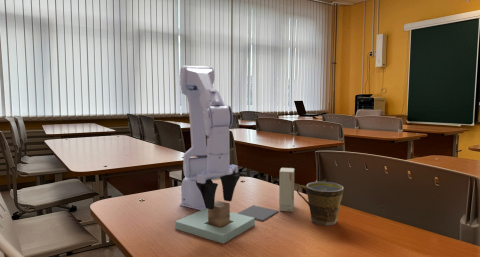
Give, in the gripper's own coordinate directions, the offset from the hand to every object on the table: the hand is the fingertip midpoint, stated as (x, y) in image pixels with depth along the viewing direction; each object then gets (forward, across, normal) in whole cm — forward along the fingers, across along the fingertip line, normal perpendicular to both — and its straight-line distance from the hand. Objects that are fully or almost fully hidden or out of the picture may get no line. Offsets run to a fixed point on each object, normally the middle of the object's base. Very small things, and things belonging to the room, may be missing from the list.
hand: (218, 204), depth 89 cm
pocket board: (+7, +1, +2) cm, 7 cm away
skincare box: (+7, +25, -7) cm, 27 cm away
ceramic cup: (+7, +21, -19) cm, 29 cm away
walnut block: (+7, 0, 0) cm, 7 cm away
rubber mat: (+7, +16, -2) cm, 18 cm away
